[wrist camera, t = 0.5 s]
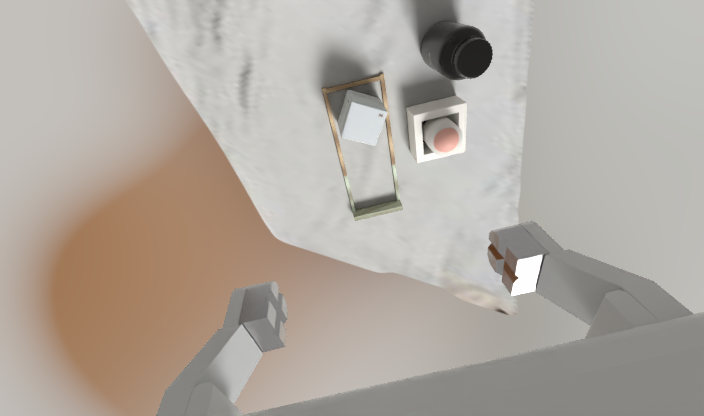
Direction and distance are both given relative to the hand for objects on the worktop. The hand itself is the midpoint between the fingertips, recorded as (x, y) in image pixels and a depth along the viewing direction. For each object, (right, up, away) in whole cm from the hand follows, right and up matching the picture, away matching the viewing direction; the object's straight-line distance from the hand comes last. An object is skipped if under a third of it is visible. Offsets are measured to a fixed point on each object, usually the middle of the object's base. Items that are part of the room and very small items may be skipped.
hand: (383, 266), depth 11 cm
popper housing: (+14, +18, +44) cm, 50 cm away
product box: (0, +19, +41) cm, 46 cm away
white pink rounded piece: (+14, +16, +42) cm, 48 cm away
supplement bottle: (+13, +28, +37) cm, 48 cm away
